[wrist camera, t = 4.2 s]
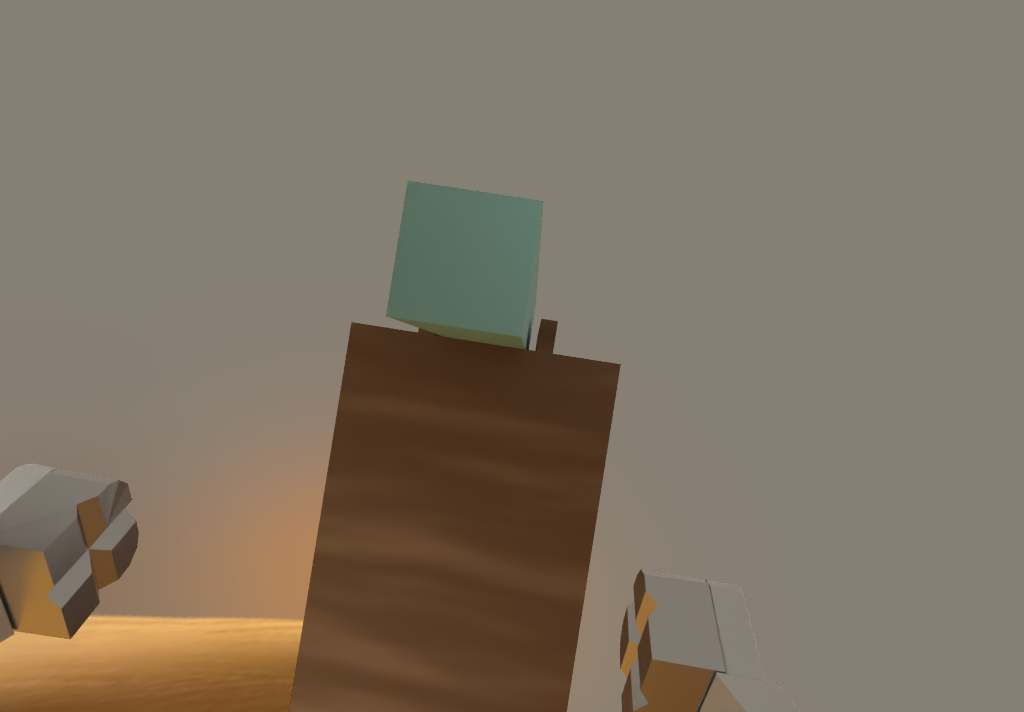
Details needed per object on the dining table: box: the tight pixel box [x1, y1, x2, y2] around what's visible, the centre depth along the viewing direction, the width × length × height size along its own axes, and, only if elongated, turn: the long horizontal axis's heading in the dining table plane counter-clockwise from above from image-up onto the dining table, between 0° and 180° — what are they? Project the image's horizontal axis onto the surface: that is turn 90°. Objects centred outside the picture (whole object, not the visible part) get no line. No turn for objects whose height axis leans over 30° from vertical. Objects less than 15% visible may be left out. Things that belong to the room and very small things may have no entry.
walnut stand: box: [289, 319, 620, 712], centre depth 31 cm, size 14×10×27 cm
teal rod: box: [386, 181, 543, 350], centre depth 27 cm, size 24×3×3 cm, turn 178°
